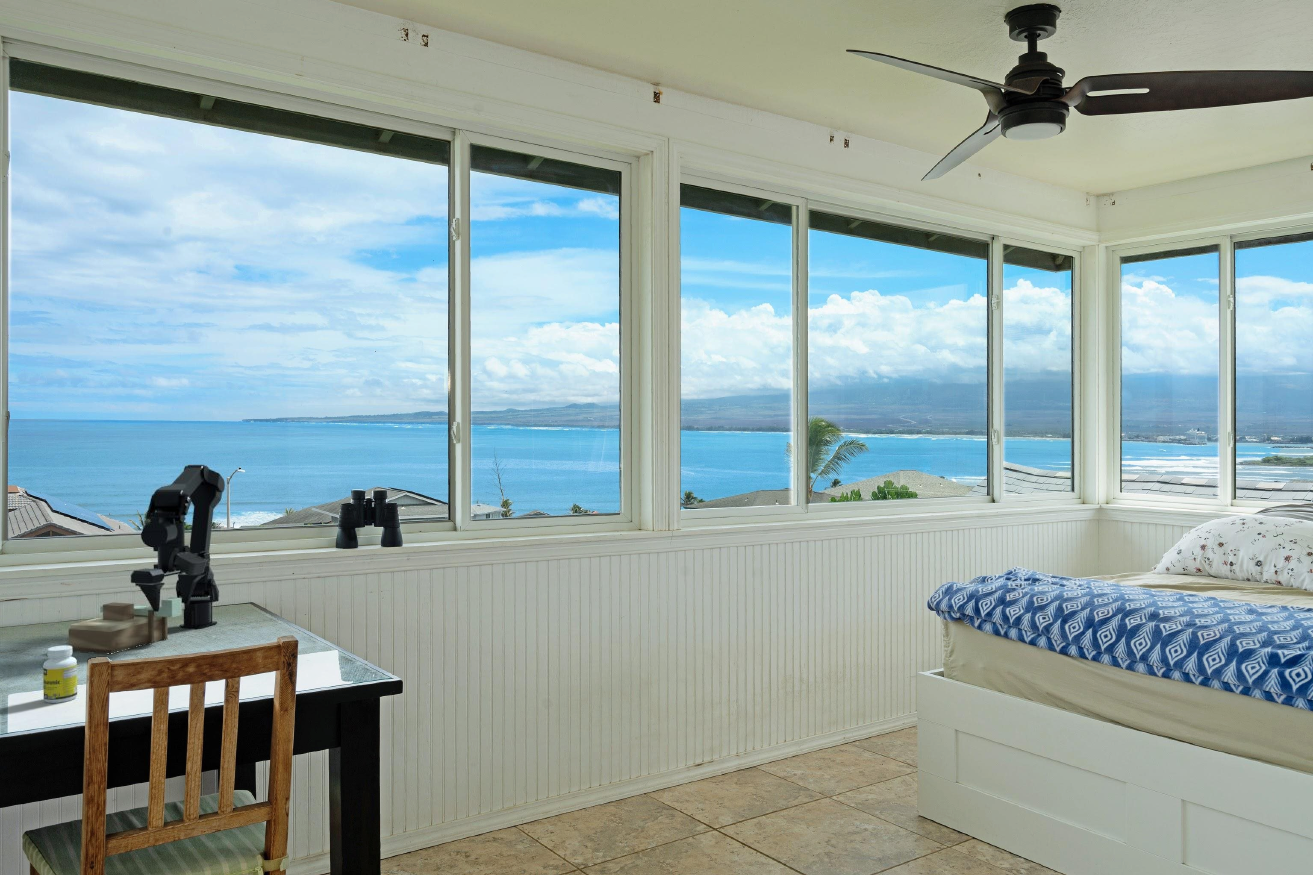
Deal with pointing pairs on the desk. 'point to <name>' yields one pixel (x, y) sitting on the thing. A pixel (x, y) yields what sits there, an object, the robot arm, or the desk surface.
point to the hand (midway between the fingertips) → (171, 607)
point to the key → (161, 608)
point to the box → (119, 637)
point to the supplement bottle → (60, 675)
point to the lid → (114, 618)
